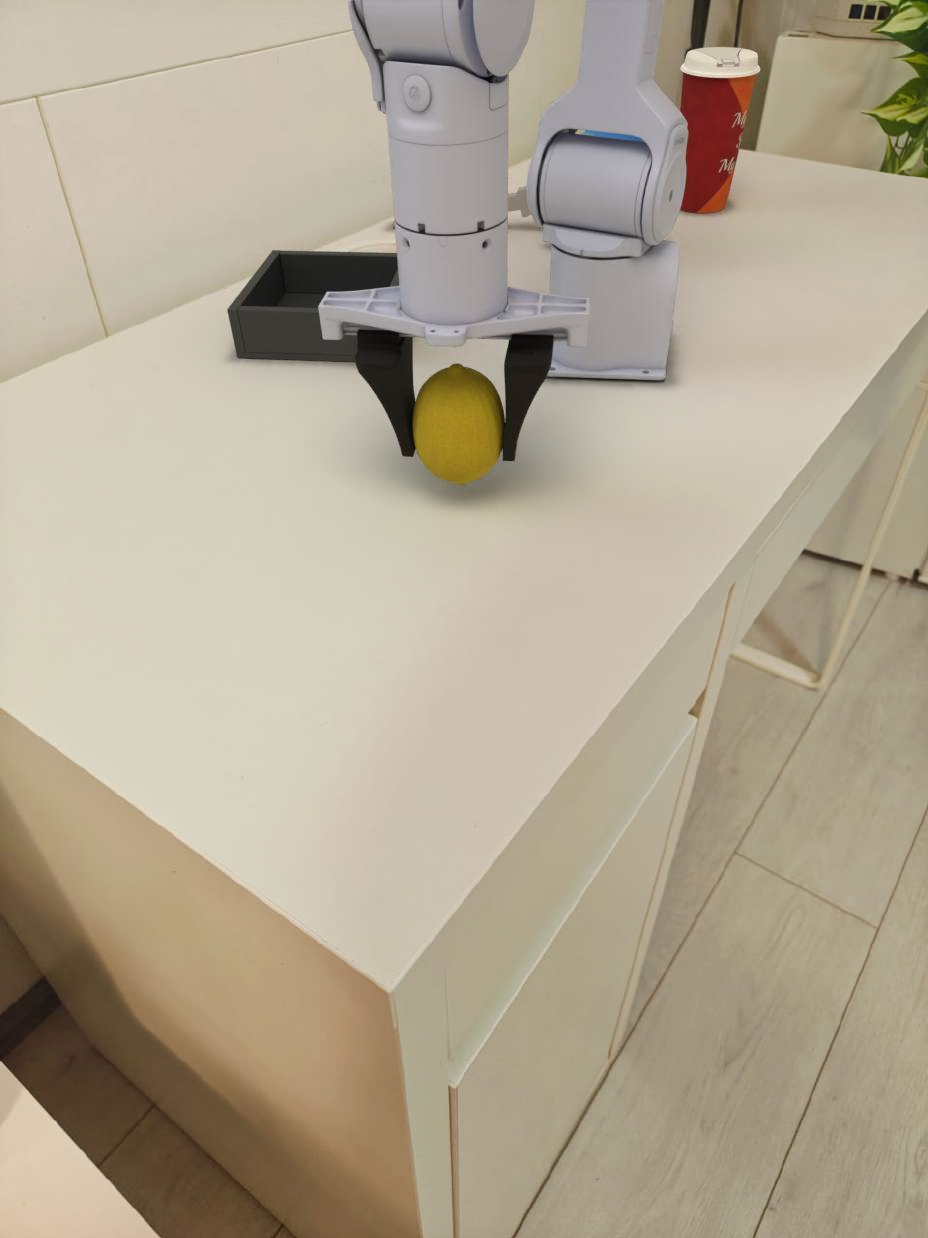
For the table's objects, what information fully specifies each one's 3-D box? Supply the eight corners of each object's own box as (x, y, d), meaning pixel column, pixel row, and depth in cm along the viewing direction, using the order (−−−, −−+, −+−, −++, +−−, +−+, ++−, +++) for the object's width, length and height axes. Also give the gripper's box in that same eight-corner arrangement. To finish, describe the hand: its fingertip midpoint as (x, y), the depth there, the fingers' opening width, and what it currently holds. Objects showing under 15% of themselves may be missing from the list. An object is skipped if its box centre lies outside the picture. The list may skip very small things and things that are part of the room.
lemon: (496, 513, 52) (496, 392, 47) (407, 505, 53) (396, 384, 48) (511, 463, 56) (513, 346, 51) (428, 456, 57) (420, 340, 52)
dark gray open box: (416, 298, 78) (414, 252, 76) (391, 363, 69) (386, 313, 66) (280, 294, 80) (272, 249, 77) (237, 357, 70) (226, 309, 68)
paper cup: (743, 215, 92) (771, 60, 82) (669, 217, 92) (689, 62, 83) (727, 192, 98) (752, 44, 88) (658, 193, 98) (675, 45, 88)
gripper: (289, 242, 42) (327, 481, 51) (595, 247, 40) (577, 493, 49) (324, 194, 47) (352, 419, 56) (597, 197, 45) (580, 428, 55)
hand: (459, 450), depth 53 cm, fingers closed on lemon, 5 cm apart
